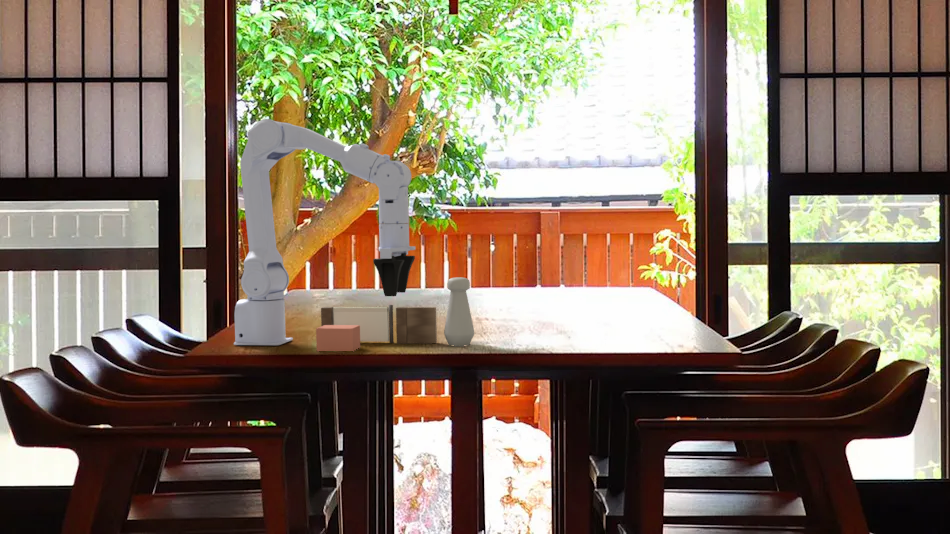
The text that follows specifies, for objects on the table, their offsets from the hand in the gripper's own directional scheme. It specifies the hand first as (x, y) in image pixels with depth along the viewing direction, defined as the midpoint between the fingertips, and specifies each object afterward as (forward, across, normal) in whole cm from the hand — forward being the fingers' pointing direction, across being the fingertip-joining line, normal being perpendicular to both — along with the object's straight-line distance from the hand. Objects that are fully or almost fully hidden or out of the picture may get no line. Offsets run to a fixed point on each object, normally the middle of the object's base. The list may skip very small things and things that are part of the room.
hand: (395, 294), depth 181 cm
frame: (+10, +3, +4) cm, 11 cm away
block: (+10, -6, +10) cm, 15 cm away
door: (+10, +4, +8) cm, 13 cm away
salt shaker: (+10, +1, -12) cm, 16 cm away
